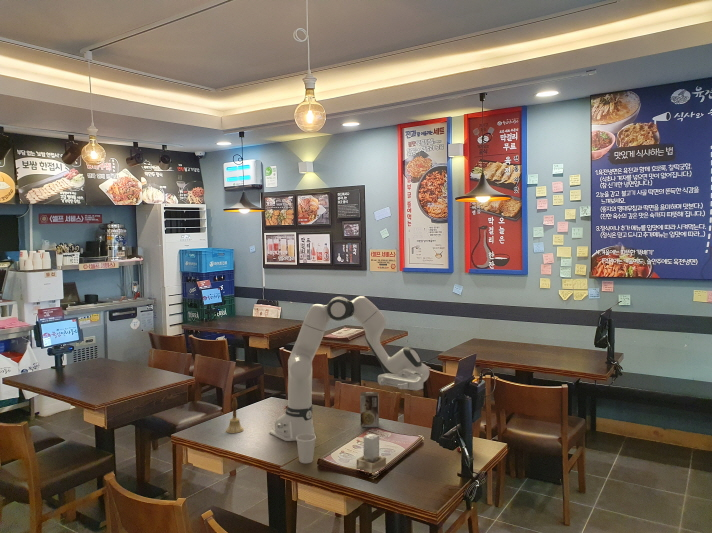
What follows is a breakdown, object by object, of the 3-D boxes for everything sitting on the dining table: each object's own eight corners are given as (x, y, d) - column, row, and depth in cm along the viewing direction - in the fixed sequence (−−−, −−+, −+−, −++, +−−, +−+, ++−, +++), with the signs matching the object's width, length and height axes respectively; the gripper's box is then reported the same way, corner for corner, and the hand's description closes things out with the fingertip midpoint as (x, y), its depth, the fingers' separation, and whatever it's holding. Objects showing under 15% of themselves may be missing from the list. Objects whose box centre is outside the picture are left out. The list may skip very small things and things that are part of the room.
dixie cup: (297, 456, 223) (297, 433, 222) (317, 456, 223) (317, 433, 222) (294, 464, 214) (294, 440, 214) (314, 464, 214) (314, 440, 214)
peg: (363, 468, 209) (363, 436, 209) (369, 464, 213) (370, 433, 212) (372, 471, 207) (372, 439, 206) (379, 467, 210) (379, 435, 210)
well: (356, 470, 209) (356, 459, 209) (368, 463, 216) (368, 452, 215) (373, 476, 204) (374, 464, 204) (385, 468, 211) (386, 457, 210)
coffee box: (379, 423, 265) (379, 391, 265) (378, 427, 259) (378, 395, 258) (361, 422, 266) (361, 391, 266) (360, 427, 260) (360, 394, 259)
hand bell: (222, 430, 255) (222, 397, 254) (238, 426, 260) (238, 394, 260) (231, 434, 248) (231, 401, 248) (246, 430, 254) (246, 398, 253)
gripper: (387, 368, 242) (370, 374, 231) (426, 375, 230) (410, 381, 219) (387, 382, 242) (370, 388, 231) (426, 389, 230) (410, 396, 219)
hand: (389, 385), depth 225 cm, fingers open, 8 cm apart
